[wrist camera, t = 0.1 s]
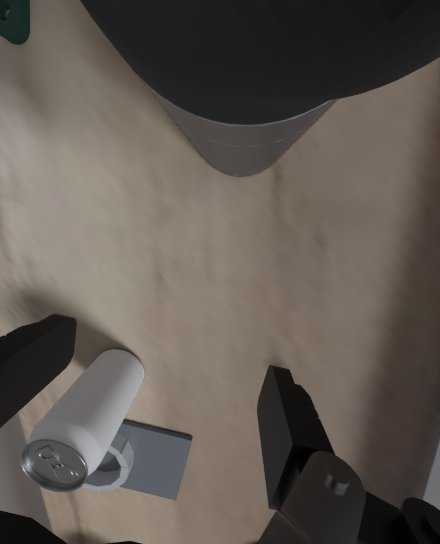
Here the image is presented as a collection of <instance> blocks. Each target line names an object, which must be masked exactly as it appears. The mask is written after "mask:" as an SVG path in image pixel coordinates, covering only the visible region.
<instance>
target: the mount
mask: <svg viewBox="0 0 440 544" xmlns="http://www.w3.org/2000/svg"><path fill="white" fill-rule="evenodd" d="M8 9H10V17H9V18H8V19H7V20H6V19H5V13H6V11H7V10H8ZM29 33H30V0H0V35H1V36H2V37H4V38H5V39H7V40H8V41H10V42H11V43H13V44H17V45H19V44H23V43H24V42H25V41H26V40H27V39H28V37H29Z"/></svg>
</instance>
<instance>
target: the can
mask: <svg viewBox="0 0 440 544" xmlns="http://www.w3.org/2000/svg"><path fill="white" fill-rule="evenodd" d="M143 380H144V370H143V367H142V365H141V363H140V361H139V360H138V359H137V358H136V357H135V356H134V355H133V354H131V353H129V352H127V351H124V350H118V349H112V350H107V351H105V352H103V353H101V354H100V355H99V356H98V357H97V358H96V359H95V360H94V361H93V362H92V364H91V365H90V366H89V367H88V368H87V369H86V370H85V371H84V372H83V374H82V375H81V376H80V377H79V378H78V379H77V380H76V381H75V383H74V384H73V385H72V386H71V387H70V388H69V389H68V390H67V392H66V393H65V394H64V395H63V396H62V397H61V398H60V399H59V401H58V402H57V403H56V404H55V405H54V406H53V407H52V409H51V410H50V411H49V412H48V413H47V414H46V415H45V416H44V418H43V419H42V420H41V421H40V422H39V423H38V425H37V426H36V427H35V429H34V430H33V431H32V433H31V436H30V438H29V442H28V444H27V445H26V446H25V447H24V448H23V450H22V451H21V454H20V465H21V468H22V470H23V471H24V473H25V474H26V476H28V478H29V479H30V480H32V481H33V482H34V483H35V484H37V485H39V486H40V487H43V488H45V489H47V490H51V491H55V492H70V491H74V490H76V489H78V488H80V487H81V486H82V485H83V484H84V483H85V481H86V479H87V477H88V476H89V475H90V474H91V473H92V472H93V471H95V470H96V469H97V467H98V466H99V465H100V463H101V461H102V460H103V458H104V456H105V454H106V452H107V450H108V448H109V447H110V445H111V443H112V441H113V439H114V437H115V435H116V433H117V431H118V429H119V427H120V425H121V424H122V422H123V420H124V418H125V416H126V414H127V412H128V410H129V408H130V406H131V404H132V402H133V400H134V398H135V396H136V394H137V392H138V390H139V388H140V386H141V384H142V382H143Z"/></svg>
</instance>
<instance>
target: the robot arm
mask: <svg viewBox="0 0 440 544" xmlns="http://www.w3.org/2000/svg"><path fill="white" fill-rule="evenodd" d="M80 1H81V2H82V4H83V5H84V7H85V8H86V9H87V11H88V12H89V14H90V15H91V17H92V18H93V20H94V21H95V22H96V24H97V25H98V26H99V28H100V29H101V30H102V32H103V33H104V34H105V35H106V37H107V38H108V39H109V40H110V42H111V43H112V44H113V45H114V47H115V48H116V49H117V50H118V52H119V53H120V54H121V55H122V57H123V58H124V59H125V60H126V62H127V63H128V64H129V65H130V67H131V68H132V69H133V70H134V71H135V72H136V74H137V75H138V76H139V77H140V78H141V80H142V81H143V82H144V84H145V85H146V86H147V87H148V89H149V90H150V91H151V92H152V94H153V95H154V96H155V97H156V98H157V100H158V101H159V102H160V103H161V105H162V106H163V107H164V108H165V110H166V111H167V112H168V113H169V115H170V116H171V117H172V119H173V120H174V121H175V122H176V124H177V125H178V126H179V127H180V129H181V130H182V131H183V132H184V134H185V135H186V136H187V138H188V139H189V140H190V141H191V143H192V144H193V145H194V146H195V148H196V149H197V150H198V152H199V153H200V154H201V155H202V157H203V158H204V159H205V160H206V161H207V163H208V164H210V165H211V166H212V167H213V168H215V169H216V170H218V171H219V172H221V173H224V174H227V175H230V176H237V177H244V176H251V175H254V174H258V173H260V172H262V171H264V170H265V169H267V168H269V167H270V166H271V165H272V164H273V163H275V162H276V161H277V160H278V159H279V158H280V157H281V156H282V155H283V154H284V153H285V152H286V151H287V150H288V149H289V148H290V147H291V146H292V145H293V144H294V143H295V142H296V141H297V140H298V139H299V138H300V137H301V136H302V135H303V134H304V133H305V132H306V131H307V130H308V129H309V128H310V127H311V126H313V125H314V124H315V123H316V122H317V121H318V120H319V119H320V118H321V117H322V116H323V115H324V113H325V112H326V111H327V110H328V109H329V108H330V107H331V106H332V105H333V104H334V103H335V102H336V101H337V100H338V99H340V98H345V97H349V96H353V95H357V94H362V93H364V92H367V91H370V90H373V89H376V88H379V87H381V86H384V85H386V84H389V83H391V82H394V81H396V80H398V79H400V78H402V77H404V76H406V75H408V74H410V73H412V72H414V71H416V70H418V69H420V68H422V67H424V66H425V65H427V64H429V63H430V62H432V61H434V60H435V59H437V58H439V57H440V0H80ZM76 325H77V322H76V319H75V318H72V317H68V316H63V315H59V314H53V315H51V316H49V317H47V318H45V319H43V320H42V321H40V322H38V323H37V322H36V323H33V324H29V325H25V326H22V327H19V328H17V329H15V330H13V331H11V332H10V333H8V334H7V335H6V336H2V337H0V428H1V427H2V426H3V425H4V424H5V423H6V422H7V421H8V420H9V419H10V418H12V417H13V416H14V415H15V414H16V413H17V412H18V411H19V410H21V409H22V408H23V407H24V406H25V405H26V404H27V403H28V402H29V401H30V400H31V399H33V398H34V397H35V396H36V395H37V394H38V393H39V392H40V391H41V390H42V389H44V388H45V387H46V386H47V385H48V384H49V383H50V382H51V381H52V380H53V379H54V378H56V377H57V376H58V375H59V374H60V373H61V372H62V371H63V370H64V369H65V368H66V367H67V366H68V365H69V363H70V361H71V359H72V357H73V353H74V345H75V335H76ZM257 416H258V424H259V432H260V440H261V448H262V456H263V464H264V472H265V480H266V488H267V496H268V504H269V509H273V510H276V512H275V514H274V515H273V517H272V519H271V520H270V522H269V524H268V526H267V527H266V529H265V531H264V532H263V534H262V536H261V538H260V539H259V541H258V543H257V544H440V510H438V509H437V508H436V507H434V506H433V505H431V504H429V503H427V502H425V501H423V500H421V499H418V498H407V499H405V500H404V502H403V504H402V506H401V508H400V509H398V508H397V507H395V506H393V505H391V504H389V503H387V502H385V501H384V500H382V499H380V498H378V497H376V496H374V495H372V494H371V493H369V492H367V491H366V490H365V488H364V486H363V483H362V481H361V480H360V478H359V476H358V475H357V474H356V472H355V471H354V470H353V469H352V468H351V467H350V466H349V465H348V464H347V463H346V462H345V461H343V460H342V459H340V458H339V457H337V456H335V453H334V451H333V449H332V446H331V444H330V442H329V439H328V437H327V435H326V432H325V430H324V428H323V425H322V423H321V421H320V419H319V416H318V414H317V411H316V410H315V407H314V404H313V402H312V400H311V397H310V396H309V394H308V393H307V392H306V391H305V390H304V389H303V387H302V386H301V385H297V384H295V383H294V380H293V378H292V375H291V372H290V370H289V369H286V368H281V367H277V366H273V365H270V366H269V367H268V370H267V373H266V376H265V379H264V383H263V386H262V389H261V392H260V395H259V399H258V406H257ZM0 544H67V543H66V542H64V541H63V540H62V539H60V538H59V537H57V536H56V535H55V534H53V533H52V532H50V531H49V530H48V529H46V528H45V527H43V526H42V525H41V524H39V523H38V522H36V521H35V520H34V519H32V518H30V517H25V516H21V515H17V514H13V513H8V512H4V511H0ZM107 544H141V543H137V542H132V541H125V542H116V543H107Z"/></svg>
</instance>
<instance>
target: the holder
mask: <svg viewBox="0 0 440 544" xmlns="http://www.w3.org/2000/svg"><path fill="white" fill-rule="evenodd" d="M191 442H192V436H188V435H184V434H179V433H175V432H171V431H167V430H163V429H159V428H155V427H151V426H147V425H143V424H138V423H134V422H130V421H126V420H123V422H122V424H121V425H120V427H119V429H118V431H117V433H116V435H115V437H114V439H113V441H112V443H111V445H110V447H109V448H108V450H107V452H106V454H105V456H104V458H103V460H102V461H101V463H100V465H99V466H98V467H97V469H96V470H95V471H93V472H92V473H91V474H90V475H89V476H88V477H87V479H86V481H85V483H84V484H83V485H82V488H85V489H89V490H93V491H97V492H98V491H100V492H103V491H109V490H115V489H117V488H118V487H123V488H127V489H131V490H136V491H140V492H144V493H148V494H152V495H156V496H160V497H164V498H168V499H173V500H176V498H177V494H178V490H179V486H180V483H181V479H182V475H183V472H184V468H185V464H186V460H187V457H188V453H189V449H190V445H191Z"/></svg>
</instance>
